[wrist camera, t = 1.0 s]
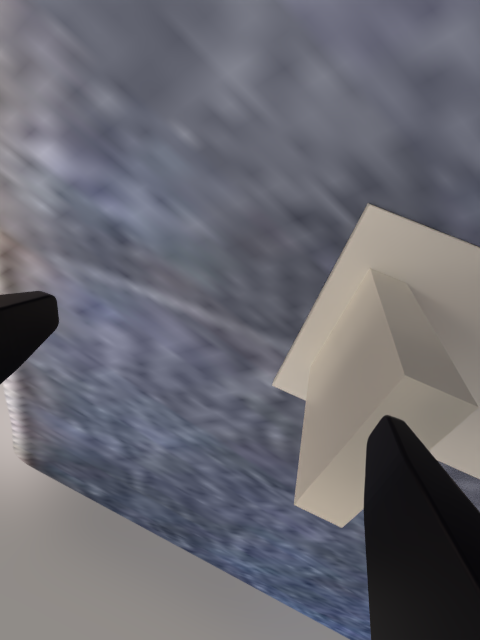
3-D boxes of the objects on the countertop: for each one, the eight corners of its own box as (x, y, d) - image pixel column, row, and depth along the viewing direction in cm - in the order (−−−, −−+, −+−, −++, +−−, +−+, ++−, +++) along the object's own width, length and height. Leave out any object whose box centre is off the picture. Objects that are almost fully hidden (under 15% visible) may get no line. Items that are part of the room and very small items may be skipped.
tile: (411, 285, 17) (489, 411, 8) (342, 381, 21) (348, 530, 13) (370, 268, 17) (405, 375, 9) (309, 367, 21) (293, 504, 13)
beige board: (709, 337, 15) (722, 344, 14) (496, 480, 22) (499, 488, 22) (368, 203, 16) (369, 204, 16) (273, 380, 24) (272, 385, 23)
